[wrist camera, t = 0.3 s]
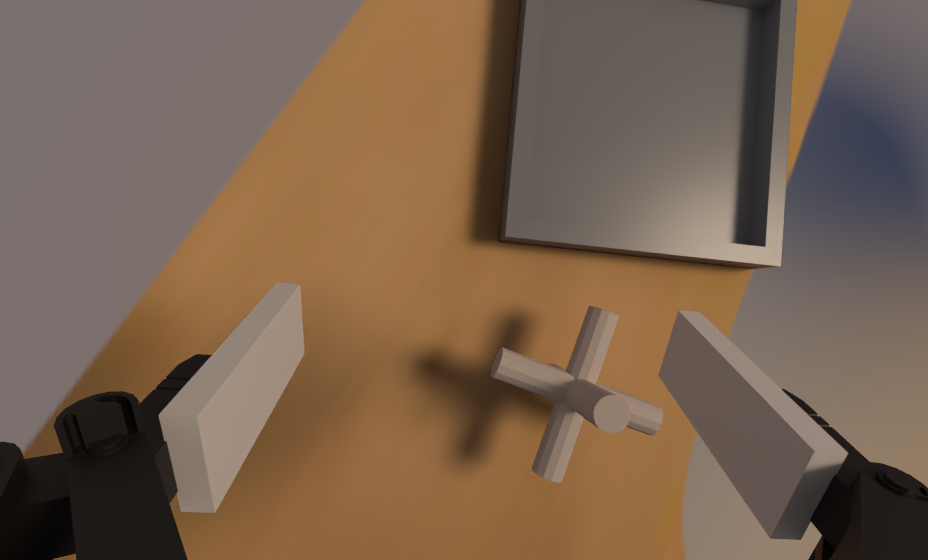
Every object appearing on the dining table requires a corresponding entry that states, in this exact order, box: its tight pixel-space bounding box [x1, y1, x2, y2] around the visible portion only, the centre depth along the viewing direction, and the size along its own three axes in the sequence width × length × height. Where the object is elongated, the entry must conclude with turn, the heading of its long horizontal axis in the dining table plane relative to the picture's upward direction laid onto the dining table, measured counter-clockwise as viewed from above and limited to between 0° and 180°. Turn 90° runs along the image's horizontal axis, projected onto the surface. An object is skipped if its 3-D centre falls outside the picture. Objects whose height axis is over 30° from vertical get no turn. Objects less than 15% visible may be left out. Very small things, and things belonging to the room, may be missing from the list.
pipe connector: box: [491, 306, 663, 483], centre depth 26 cm, size 10×10×10 cm
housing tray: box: [498, 0, 797, 269], centre depth 32 cm, size 20×19×2 cm
